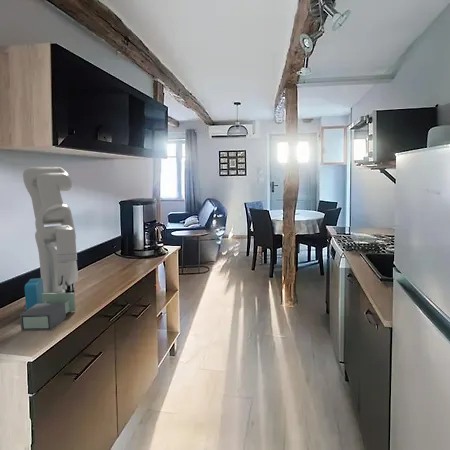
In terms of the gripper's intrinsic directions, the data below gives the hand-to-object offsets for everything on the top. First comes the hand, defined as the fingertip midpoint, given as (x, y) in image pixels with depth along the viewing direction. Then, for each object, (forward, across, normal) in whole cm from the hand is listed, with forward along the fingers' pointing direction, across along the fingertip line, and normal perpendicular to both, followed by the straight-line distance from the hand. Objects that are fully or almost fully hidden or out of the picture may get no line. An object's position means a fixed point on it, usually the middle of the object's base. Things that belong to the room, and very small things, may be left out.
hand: (70, 299), depth 164 cm
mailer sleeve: (+3, +19, -2) cm, 19 cm away
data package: (+3, +2, -14) cm, 15 cm away
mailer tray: (+3, +15, -2) cm, 16 cm away
